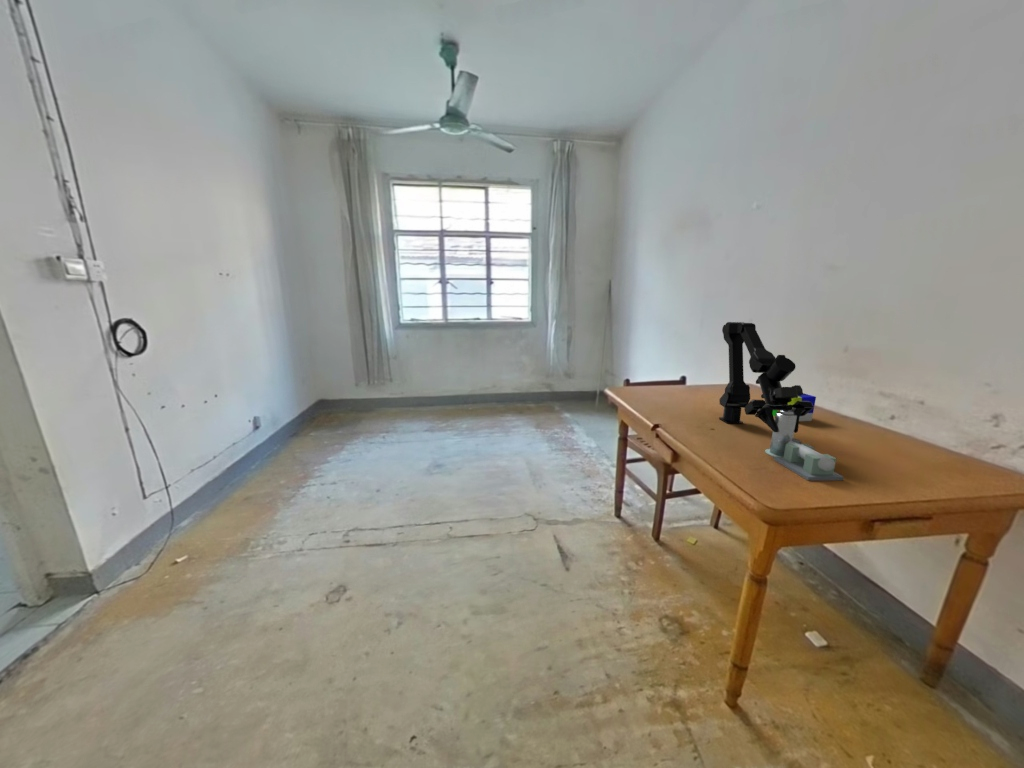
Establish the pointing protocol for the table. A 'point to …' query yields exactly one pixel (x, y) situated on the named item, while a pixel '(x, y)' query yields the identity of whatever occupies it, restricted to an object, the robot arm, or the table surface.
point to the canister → (782, 431)
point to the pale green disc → (771, 453)
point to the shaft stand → (808, 462)
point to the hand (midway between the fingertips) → (786, 432)
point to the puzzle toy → (802, 398)
